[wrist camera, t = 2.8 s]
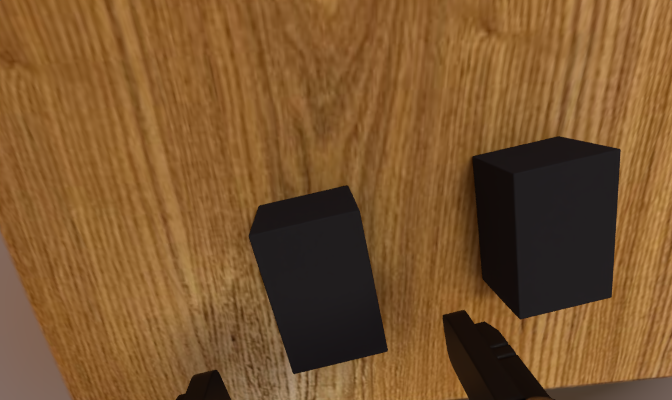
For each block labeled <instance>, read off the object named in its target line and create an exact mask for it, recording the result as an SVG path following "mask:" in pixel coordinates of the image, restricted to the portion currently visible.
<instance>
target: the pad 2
mask: <svg viewBox="0 0 672 400" xmlns="http://www.w3.org/2000/svg"><path fill="white" fill-rule="evenodd" d="M620 151H621V150H620V149H617V148H613V147H608V146H603V145H598V144H593V143H588V142H584V141H579V140H574V139H569V138H564V137H559V136H558V137H554V138H550V139H545V140H541V141H537V142H532V143H528V144H524V145H519V146H515V147H511V148H506V149H502V150H498V151H494V152H489V153H485V154H481V155H476V156H473V169H474V181H475V193H476V205H477V218H478V230H479V242H480V254H481V266H482V278H483V280H484V281H485V282H486V283H487V284H488V286H489V287H490V288H491V289H492V290H493V291H494V292H495V293H496V294H497V295H498V296H499V297H500V299H501V300H502V301H503V302H504V303H505V304H506V305H507V306H508V307H509V308H510V309H511V310H512V312H513V313H514V314H515V315H516V316H517V317H518V318H519V319H524V318H528V317H532V316H536V315H541V314H545V313H549V312H553V311H557V310H561V309H565V308H570V307H574V306H578V305H582V304H586V303H590V302H594V301H598V300H603V299H607V298H611V297H612V282H613V266H614V249H615V233H616V217H617V200H618V184H619V168H620Z"/></svg>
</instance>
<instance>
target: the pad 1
mask: <svg viewBox="0 0 672 400" xmlns="http://www.w3.org/2000/svg"><path fill="white" fill-rule="evenodd" d="M249 239H250V242H251V246H252V249H253V252H254V255H255V258H256V261H257V264H258V267H259V270H260V273H261V276H262V279H263V282H264V285H265V289H266V292H267V295H268V298H269V301H270V304H271V307H272V310H273V313H274V316H275V319H276V322H277V325H278V328H279V332H280V335H281V338H282V341H283V344H284V347H285V350H286V353H287V356H288V359H289V362H290V365H291V368H292V372H293V374H297V373H301V372H305V371H309V370H313V369H317V368H321V367H326V366H330V365H334V364H338V363H342V362H346V361H350V360H354V359H359V358H363V357H367V356H371V355H375V354H379V353H383V352H387V351H388V348H387V344H386V339H385V334H384V329H383V324H382V319H381V314H380V309H379V304H378V299H377V294H376V289H375V284H374V279H373V275H372V270H371V265H370V260H369V255H368V250H367V245H366V240H365V235H364V230H363V225H362V220H361V215H360V211H359V208H358V206H357V204H356V202H355V200H354V197H353V195H352V193H351V191H350V189H349V186H342V187H338V188H334V189H329V190H325V191H321V192H316V193H312V194H308V195H304V196H299V197H295V198H291V199H286V200H282V201H278V202H273V203H269V204H265V205H260V206H259V207H258V210H257V213H256V216H255V219H254V222H253V225H252V227H251V230H250V233H249Z"/></svg>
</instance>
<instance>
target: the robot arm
mask: <svg viewBox="0 0 672 400" xmlns="http://www.w3.org/2000/svg"><path fill="white" fill-rule="evenodd" d="M443 325H444V332H445V339H446V345H447V351H448V355H449V358H450V361H451V364H452V366H453V368H454V370H455V372H456V374H457V376H458V378H459V380H460V382H461V384H462V386H463V388H464V390H465V392H466V394H467V396H468V398H469V400H555V399H552V398H551V397H550V396H549V395H548V394H547V393H546V391H545V390H544V389H543V387H542V386H541V385H540V384H539V382H538V381H537V380H536V378H535V377H534V376H533V375H532V373H531V372H530V371H529V369H528V368H527V367H526V365H525V364H524V363H523V362H522V360H521V359H520V358H519V356H518V355H516V353H515V351H514V350H513V349H512V347H511V346H510V345H508V342H507V341H506V340H505V338H504V337H503V336H502V334H501V333H500V332H499V330H497V329H495V328H494V327H492V326H491V325H489V324H488V323H486V322H481V323H476V324H474V322H473V321H472V320H471V318H470V317H469V315H468V314H467V312H466V311H465V310H461V311H457V312H453V313H449V314H445V315H443ZM176 400H231V398H230V396H229V394H228V391H227V389H226V387H225V385H224V382H223V380H222V378H221V376H220V373H219V372H218V371H217V370H212V371H208V372H204V373H200V374H195V375H194V376H193V377H192V378H191V381H190V383H189V386H188V388H187V391H186V394H182V395H179V396H178V397H177V399H176Z"/></svg>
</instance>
